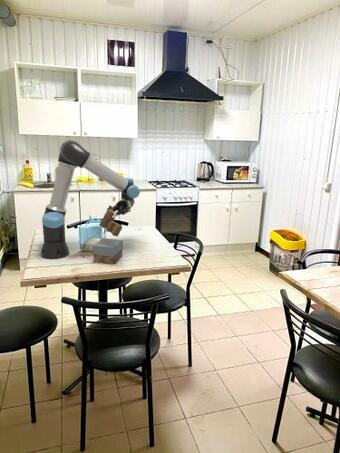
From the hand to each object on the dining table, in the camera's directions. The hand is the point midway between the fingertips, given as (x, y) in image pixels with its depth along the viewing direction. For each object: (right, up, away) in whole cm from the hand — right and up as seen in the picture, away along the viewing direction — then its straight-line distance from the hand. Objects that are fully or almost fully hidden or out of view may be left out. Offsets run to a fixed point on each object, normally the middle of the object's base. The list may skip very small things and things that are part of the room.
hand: (111, 215), depth 184 cm
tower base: (-3, -25, +8) cm, 26 cm away
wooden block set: (-2, -8, +4) cm, 9 cm away
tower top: (-3, -20, +7) cm, 21 cm away
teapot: (-20, -10, +57) cm, 61 cm away
